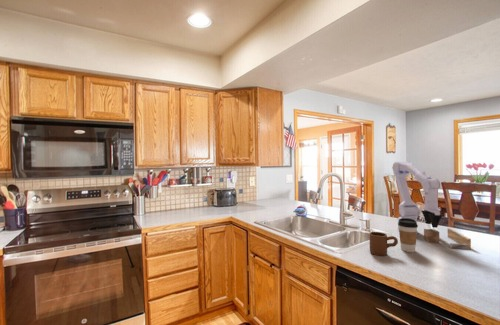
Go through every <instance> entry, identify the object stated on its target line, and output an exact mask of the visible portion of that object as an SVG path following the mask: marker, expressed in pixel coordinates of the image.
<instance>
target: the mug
mask: <svg viewBox="0 0 500 325" xmlns="http://www.w3.org/2000/svg"><path fill="white" fill-rule="evenodd" d="M391 240H393V242H389V243H388V241H391ZM398 244H399V241H398V238H397V237H396V236H393V235H389V236H388V235H387V233H384V232H380V231H371V232H370V233H369V252H370V254H372V255H374V256H377V257H378V256H379V257H383V256H387V255H388V249H389V248H392V247H393V248H394V247H395V246H397V245H398Z"/></svg>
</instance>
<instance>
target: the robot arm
mask: <svg viewBox="0 0 500 325" xmlns="http://www.w3.org/2000/svg"><path fill="white" fill-rule="evenodd" d="M391 168H392V171H393V176H395V180H396V184H397V188H398V191H399V196H400V199H401V202H400V204H398V214H399V215H400V216H398V218H397V230H398V231H399V225H398V223H399V219H401V218H407V219H413V220H415V221H416V222H417V219H418V217H419V216H420V213H421V214H422V215H423V217H424V222H425V224H427V225H431V226H432V228H436V229H437V228H438V227H439V224H440V221H441V219H442V218H443V214H441V209H440V208H439V204H438V203H439V202H438V200H439V198H438V195H439V194H438V193H439V192H438V190H439V189H440V188H441V182H440V180H439V179H438V178H434V177H433V178H432V177H431V176H430V175H428V174H427V173H426V171H419V170H418V169H417V168H416V167H415V166H414V163H413V162H411V161H395V162H393V164H392V167H391ZM409 174H411V175H412V176H414V179H415V181H417V182H418V183H419V184H421V187H422V190H423V192H424V206H423V210H420V208H419V207H418V205H417V203H415V202H414V201H413V200H412V198H411V194H410V193H411V192H410V190H409V189H410V188H409V185H408V182H407V178H406V177H407V176H408V175H409ZM417 234H420V232H419V231H418V230H417Z"/></svg>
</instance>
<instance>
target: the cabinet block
mask: <svg viewBox="0 0 500 325" xmlns="http://www.w3.org/2000/svg"><path fill="white" fill-rule="evenodd" d="M439 237H440V231H438V230H436V229H433V228H429V229H428V228H424V229H423V240H424V241H425V242H426V243H431V244H432V243H434V244H436V243H437V244H440V241H439Z"/></svg>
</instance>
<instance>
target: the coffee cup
mask: <svg viewBox="0 0 500 325" xmlns="http://www.w3.org/2000/svg"><path fill="white" fill-rule="evenodd" d="M398 225H399V230H398V232H399V243H400V249H401V251H403V252H407V253H414V252H416V245H417V237H418V236H417V235H418V233H417V231H418V230H417V229H418V228H419V227H418V226H419V225H418V223H417V220H416V221H415V220H413V219H407V218H401V219H399V223H398V222H397V226H398Z"/></svg>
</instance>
